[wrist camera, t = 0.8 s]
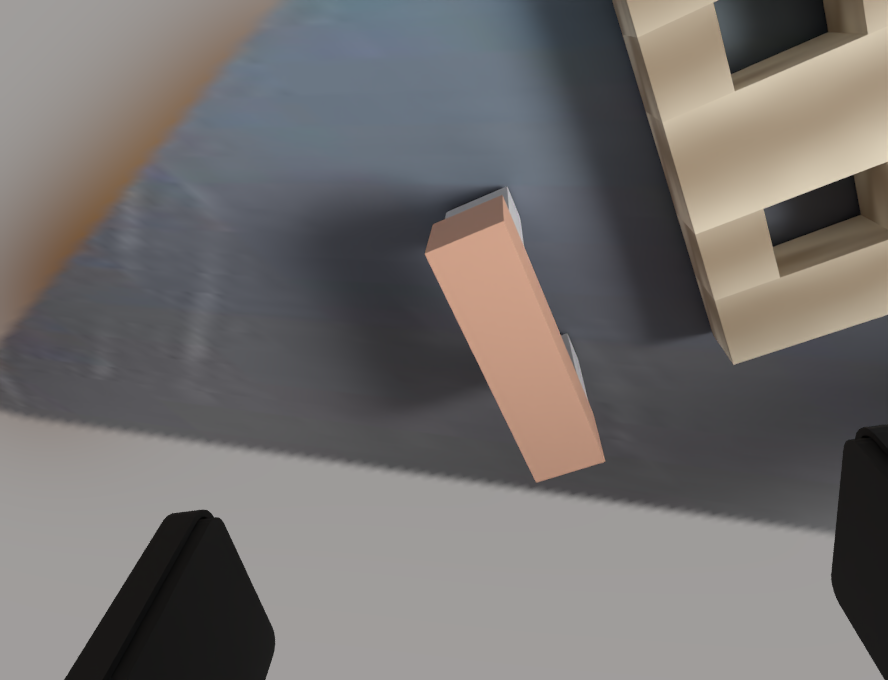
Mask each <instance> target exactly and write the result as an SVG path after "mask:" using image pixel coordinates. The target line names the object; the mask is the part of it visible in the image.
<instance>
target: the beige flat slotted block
mask: <svg viewBox="0 0 888 680" xmlns="http://www.w3.org/2000/svg"><path fill="white" fill-rule="evenodd" d="M715 1H717V0H612V2H613V5H614V8H615V12H616V15H617V18H618V22H619V25H620V28H621V32H622V35H623V38H624V42H625V45H626V48H627V51H628V55H629V58H630V61H631V65H632V68H633V71H634V75H635V78H636V81H637V85H638V88H639V91H640V94H641V98H642V101H643V104H644V108H645V111H646V114H647V118H648V121H649V124H650V128H651V131H652V134H653V137H654V141H655V144H656V147H657V151H658V154H659V157H660V161H661V164H662V167H663V171H664V174H665V177H666V180H667V184H668V187H669V190H670V194H671V197H672V200H673V204H674V207H675V210H676V214H677V217H678V220H679V223H680V227H681V230H682V233H683V237H684V240H685V243H686V247H687V250H688V253H689V257H690V260H691V263H692V266H693V270H694V273H695V276H696V280H697V283H698V286H699V290H700V293H701V296H702V300H703V303H704V306H705V309H706V313H707V316H708V319H709V323H710V326H711V329H712V333H713V335H714V337H715V338H716V340H717V341H718V343H719V344H720V346H721V347H722V349H723V350H724V351H725V353H726V354H727V356H728V357H729V359H730V360H731V362H732V363H733V365H735V364H738V363H741V362H744V361H747V360H750V359H753V358H756V357H759V356H762V355H765V354H769V353H772V352H775V351H778V350H781V349H784V348H787V347H790V346H793V345H796V344H799V343H802V342H805V341H808V340H811V339H815V338H818V337H821V336H824V335H827V334H830V333H833V332H836V331H839V330H842V329H845V328H848V327H851V326H854V325H858V324H861V323H864V322H867V321H870V320H873V319H876V318H879V317H882V316H885V315H888V0H823V4H824V10H825V15H826V21H827V27H828V32H827V33H825V34H823V35H820V36H818V37H816V38H813V39H811V40H809V41H806V42H804V43H802V44H800V45H797V46H795V47H793V48H790V49H788V50H786V51H783V52H781V53H779V54H777V55H774V56H772V57H770V58H767V59H765V60H763V61H760V62H758V63H756V64H754V65H751V66H749V67H747V68H744V69H742V70H740V71H737V72H735V73H733V74H731V73H730V69H729V65H728V61H727V57H726V53H725V49H724V44H723V40H722V36H721V32H720V28H719V24H718V20H717V16H716V11H715V7H714V3H713V2H715ZM851 175H854V179H855V185H856V190H857V196H858V202H859V207H860V213H861V215H859V216H856V217H853V218H851V219H848V220H845V221H842V222H840V223H837V224H834V225H831V226H829V227H826V228H823V229H820V230H818V231H815V232H812V233H809V234H807V235H804V236H801V237H798V238H796V239H793V240H790V241H787V242H785V243H782V244H779V245H776V246H774V247H773V246H772V242H771V238H770V234H769V230H768V226H767V222H766V218H765V213H764V208H767V207H769V206H772V205H775V204H777V203H780V202H783V201H785V200H788V199H790V198H793V197H796V196H798V195H801V194H804V193H806V192H809V191H812V190H814V189H817V188H819V187H822V186H825V185H827V184H830V183H833V182H835V181H838V180H840V179H843V178H846V177H848V176H851Z"/></svg>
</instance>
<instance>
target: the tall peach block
mask: <svg viewBox="0 0 888 680" xmlns="http://www.w3.org/2000/svg"><path fill="white" fill-rule="evenodd" d="M425 255H426V257H427V260H428V262H429V264H430V266H431V268H432V270H433V272H434V274H435V276H436V278H437V280H438V282H439V284H440V286H441V288H442V290H443V292H444V294H445V297H446V299H447V301H448V303H449V305H450V307H451V309H452V311H453V313H454V315H455V317H456V319H457V321H458V323H459V325H460V327H461V329H462V331H463V333H464V336H465V338H466V340H467V342H468V344H469V346H470V348H471V350H472V352H473V354H474V356H475V358H476V360H477V362H478V364H479V366H480V368H481V370H482V373H483V375H484V377H485V379H486V381H487V383H488V385H489V387H490V389H491V391H492V393H493V395H494V397H495V399H496V401H497V403H498V405H499V407H500V409H501V412H502V414H503V416H504V418H505V420H506V422H507V424H508V426H509V428H510V430H511V432H512V434H513V436H514V438H515V440H516V442H517V444H518V446H519V449H520V451H521V453H522V455H523V457H524V459H525V461H526V463H527V465H528V467H529V469H530V471H531V473H532V475H533V477H534V479H535V481H536V483H537V482H540V481H544V480H547V479H550V478H553V477H557V476H560V475H563V474H567V473H570V472H573V471H576V470H580V469H583V468H586V467H590V466H593V465H596V464H600V463H603V462H605V458H604V454H603V450H602V446H601V442H600V438H599V434H598V430H597V426H596V422H595V418H594V414H593V412H592V409H591V407H590V404H589V402H588V398H587V394H586V390H585V386H584V382H583V378H582V373H581V369H580V365H579V361H578V358H577V355H576V353H575V351H574V348H573V346H572V343H571V341H570V338H569V336H568V334H567V333H566V334H564V335H560V332H559V330H558V327H557V325H556V323H555V320H554V318H553V315H552V313H551V310H550V308H549V306H548V303H547V301H546V298H545V296H544V294H543V291H542V289H541V286H540V284H539V282H538V279H537V277H536V274H535V272H534V270H533V267H532V265H531V262H530V260H529V258H528V255H527V253H526V250H525V248H524V243H523V236H522V228H521V221H520V216H519V214H518V212H517V209H516V207H515V204H514V202H513V199H512V197H511V194H510V192H509V190H508V187H507V186H506V187H504V188H502V189H499V190H497V191H495V192H492V193H490V194H488V195H485V196H483V197H481V198H478V199H476V200H474V201H471V202H469V203H467V204H464V205H462V206H460V207H457V208H455V209H453V210H450V211H448V212H446V216H445V219H444V220H442V221H440V222H437V223H435V224H433V226H432V229H431V233H430V236H429V240H428V244H427V247H426V251H425Z"/></svg>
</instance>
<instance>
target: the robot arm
mask: <svg viewBox="0 0 888 680" xmlns="http://www.w3.org/2000/svg"><path fill="white" fill-rule="evenodd" d="M831 577H832V578H831V580H832V586H833V589H834V593H835V596H836V598H837V600H838V602H839V604H840V606H841V607H842V609H843V611H844V612H845V614H846V616H847V617H848V619H849V621H850V623H851V624H852V626H853V628H854V629H855V631H856V633H857V634H858V636H859V638H860V639H861V641H862V642H863V644H864V646H865V647H866V649H867V651H868V652H869V654H870V656H871V658H872V659H873V661H874V662H875V664H876V666H877V668H878V669H879V671H880V673H881V674H882V675H883V677H884V679H885V680H888V424H887V425H879V426H871V427H863V428H861V429H859V430H858V432H857V433H856V437H855V439H852V440H848V441H846V443H845V445H844V450H843V460H842V471H841V481H840V491H839V501H838V512H837V522H836V532H835V542H834V552H833V563H832V573H831ZM274 648H275V636H274V631H273V628H272V626H271V623H270V622H269V619H268V617H267V615H266V613H265V610H264V608H263V606H262V604H261V602H260V600H259V598H258V595H257V593H256V591H255V589H254V587H253V585H252V583H251V581H250V578H249V576H248V574H247V572H246V570H245V568H244V565H243V563H242V561H241V559H240V557H239V555H238V553H237V550H236V548H235V546H234V544H233V542H232V540H231V538H230V535H229V533H228V531H227V529H226V527H225V525H224V523H223V521H222V520H221V519H220V518H216V517H215V518H214V517H213V515H212V514H211V513H210V512H209V511H208V510H197V511H189V512H180V513H172V514H170V515H168V516H167V517H166V518H165V519H164V520H163V522H162V524H161V525H160V527H159V528H158V530H157V532H156V533H155V535H154V536H153V538H152V540H151V541H150V543H149V545H148V546H147V548H146V549H145V551H144V552H143V554H142V556H141V557H140V559H139V561H138V562H137V564H136V565H135V567H134V569H133V570H132V572H131V573H130V575H129V577H128V578H127V580H126V582H125V583H124V585H123V586H122V588H121V590H120V591H119V593H118V594H117V596H116V597H115V599H114V601H113V602H112V604H111V606H110V607H109V609H108V610H107V612H106V614H105V615H104V617H103V618H102V620H101V622H100V623H99V625H98V627H97V628H96V630H95V631H94V633H93V635H92V636H91V638H90V639H89V641H88V643H87V644H86V646H85V648H84V649H83V651H82V652H81V654H80V655H79V657H78V659H77V660H76V662H75V663H74V665H73V667H72V668H71V670H70V671H69V673H68V675H67V676H66V678H65V679H64V680H265V679H266V676H267V673H268V670H269V667H270V663H271V660H272V657H273V653H274Z"/></svg>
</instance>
